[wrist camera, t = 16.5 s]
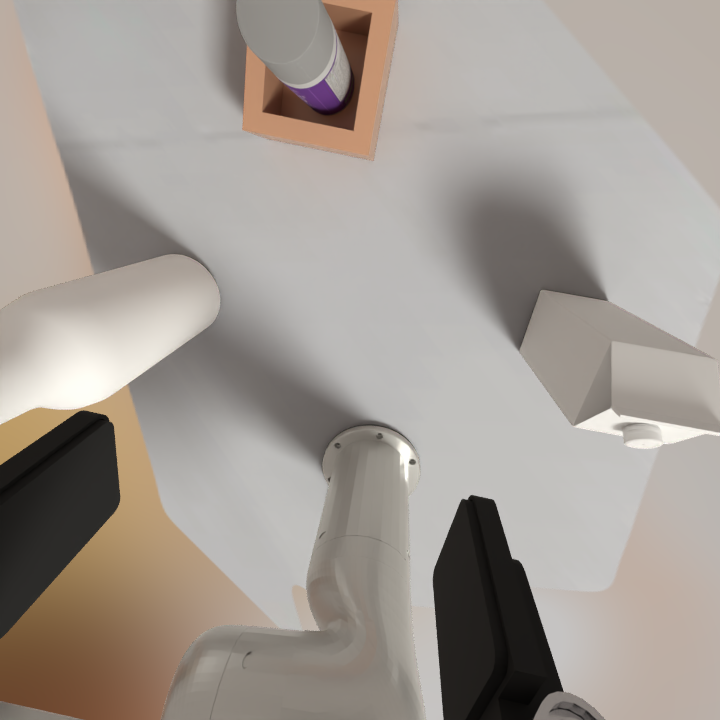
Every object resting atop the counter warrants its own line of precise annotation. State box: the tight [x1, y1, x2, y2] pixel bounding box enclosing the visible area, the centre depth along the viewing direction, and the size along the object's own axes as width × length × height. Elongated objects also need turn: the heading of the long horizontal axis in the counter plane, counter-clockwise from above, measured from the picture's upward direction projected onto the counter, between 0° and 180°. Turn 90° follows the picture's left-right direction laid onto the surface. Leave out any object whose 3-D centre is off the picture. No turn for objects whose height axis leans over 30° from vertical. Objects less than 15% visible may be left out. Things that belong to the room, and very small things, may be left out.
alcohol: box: [0, 254, 220, 424], centre depth 30 cm, size 9×9×30 cm
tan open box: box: [242, 0, 398, 161], centre depth 32 cm, size 10×10×6 cm
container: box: [236, 0, 355, 116], centre depth 27 cm, size 5×5×15 cm
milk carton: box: [519, 290, 720, 449], centre depth 33 cm, size 7×7×19 cm
